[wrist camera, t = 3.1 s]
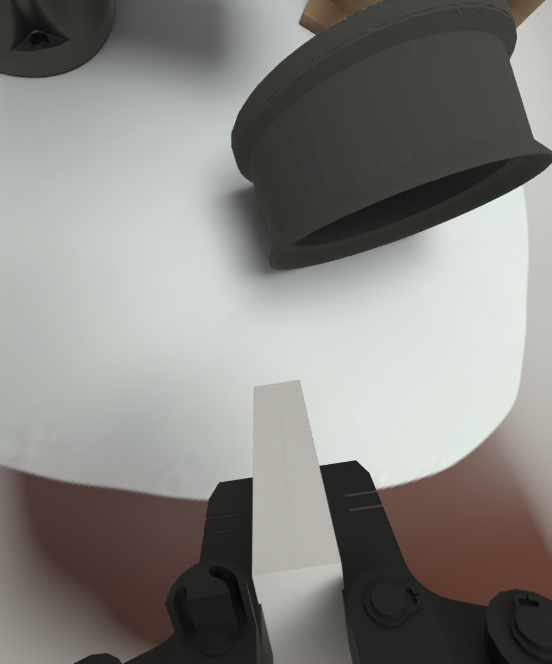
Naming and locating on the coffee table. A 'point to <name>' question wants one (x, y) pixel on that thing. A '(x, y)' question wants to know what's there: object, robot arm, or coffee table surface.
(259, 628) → the robot arm
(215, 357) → the coffee table surface
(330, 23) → the stop board
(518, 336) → the coffee table surface
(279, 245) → the wheel rim
